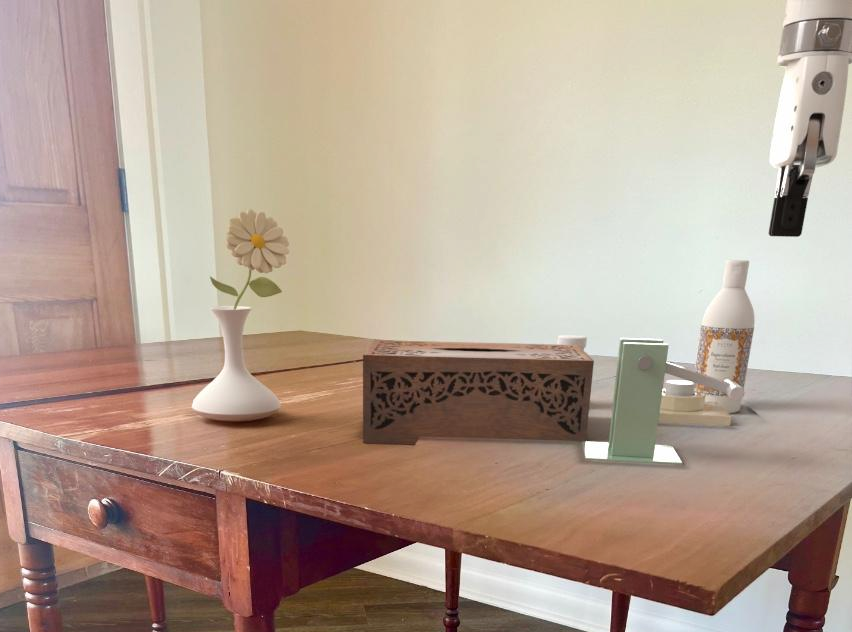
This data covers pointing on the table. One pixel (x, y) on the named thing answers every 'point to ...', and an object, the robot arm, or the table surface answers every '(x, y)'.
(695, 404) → the cream pedestal base
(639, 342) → the lever bracket
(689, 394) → the flush button
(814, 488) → the table surface
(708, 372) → the bath foam
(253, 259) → the flower in vase
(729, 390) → the flush lever
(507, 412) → the tissue box cover
